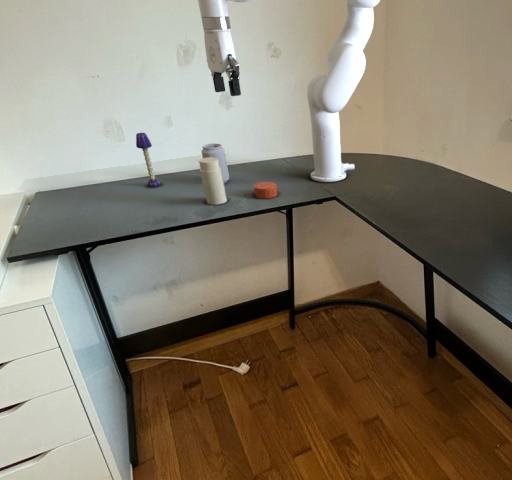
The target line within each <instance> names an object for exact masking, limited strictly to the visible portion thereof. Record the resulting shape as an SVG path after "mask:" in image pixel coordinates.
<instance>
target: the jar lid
mask: <svg viewBox="0 0 512 480" xmlns="http://www.w3.org/2000/svg"><path fill="white" fill-rule="evenodd" d="M253 188H254V189H253V190H254V196H255V198H258V199H272V198H275V197H276V196H278V187H277V183H275V182H272V181H261V182H257V183H255V184H254V185H253Z"/></svg>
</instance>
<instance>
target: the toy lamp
mask: <svg viewBox="0 0 512 480" xmlns="http://www.w3.org/2000/svg"><path fill="white" fill-rule="evenodd" d="M152 145H153V144H152V142H151V140H150V139H149V137H148V134H147V133H146V132H137V133H136V135H135V146H136V148H137V149H141V150H142V152H143V153H142V154H143V156H144V161H145V165H146V169H147V173H148V176H149V180H148V181H147V187H149V188H157V187H160V186H161V185H162V184H161V181H160V180H158V179H156V176H155V172H154V167H153V166H152V161H151V157H150V152H149V148H152Z"/></svg>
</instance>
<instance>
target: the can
mask: <svg viewBox="0 0 512 480" xmlns="http://www.w3.org/2000/svg"><path fill="white" fill-rule="evenodd" d="M200 152H201V156H202V158H208V157H214V158H218V160H219V166H220V167H221V171H222V177H223V182H224V184H226V183H228V181H229V180H230V173H229V168H228V163H227V157H226V151H225V148H224V147H222V144H221V143H207V144H204V145H202V149H201V151H200Z"/></svg>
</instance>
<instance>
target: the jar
mask: <svg viewBox="0 0 512 480" xmlns="http://www.w3.org/2000/svg"><path fill="white" fill-rule="evenodd" d="M198 163H199V174H200V178H201V182H202V187H203V191H204V196H205V201H206V203H207V204H208V205H213V206H215V205H223V204H225V203H227V201H228V197H227V193H226V192H227V191H226V187H225V183H224V182H223V177H222V171H221V167H220V166H219V160H218V158H214V157H208V158H203V157H202V158H200V159H199V160H198Z"/></svg>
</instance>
